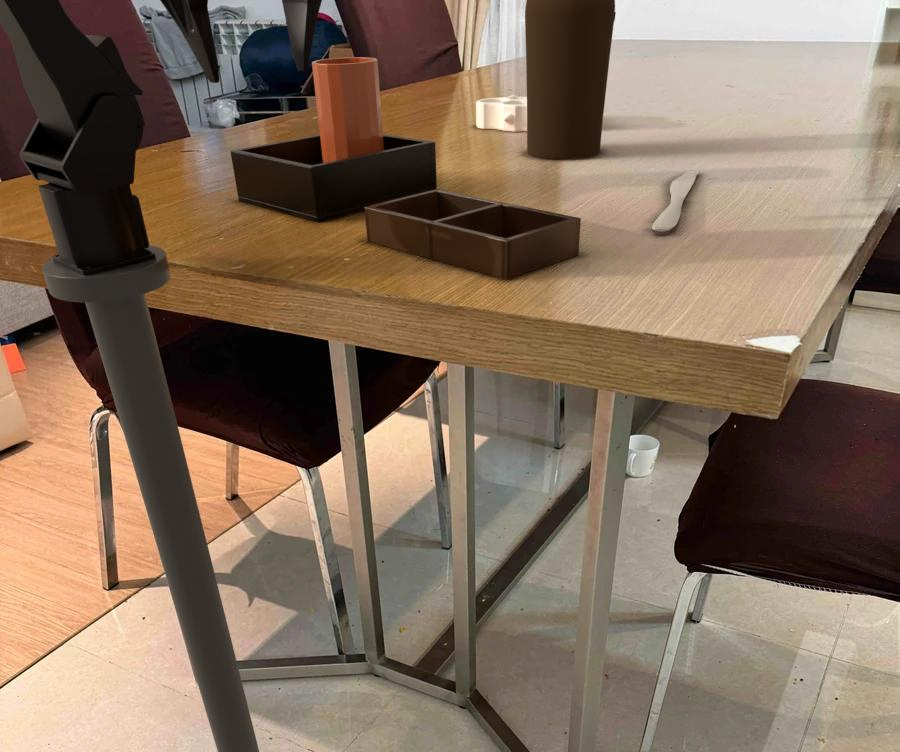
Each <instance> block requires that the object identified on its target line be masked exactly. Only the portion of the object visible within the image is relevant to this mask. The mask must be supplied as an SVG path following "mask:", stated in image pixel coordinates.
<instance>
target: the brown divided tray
mask: <svg viewBox="0 0 900 752" xmlns="http://www.w3.org/2000/svg"><path fill="white" fill-rule="evenodd" d="M364 209H365V210H364V218H365V219H364V220H365V230H366V242H369V243H373V244H375V245H379V246H383V247H387V248H390V249H394V250H397V251H401V252H405V253H409V254H412V255H416V256H418V257H423V258H426V259H430V260H433V261H438V262H441V263H445V264H449V265H452V266H455V267H459V268H463V269H466V270H469V271H474V272H476V273H477V272H478V273H480V274H484V275H488V276H492V277H495V278H499V279H502V280H510V279H513V278H515V277H519V276H521V275H524V274H527V273H530V272H532V271H535V270H538V269H542V268H544V267H547V266H550V265H553V264H555V263H559V262H562V261H564V260H567V259H570V258H573V257H576V256H579V254H580V240H581V239H580V238H581V225H582V224H581V223H582V222H581V221H582V219H581V217H578V216H572V215H567V214H562V213H557V212H552V211H547V210H543V209H538V208H534V207H528V206H524V205H518V204H512V203H508V202H503V201H498V200H493V199H489V198H485V197H484V198H483V197H478V196H474V195H468V194H463V193H459V192H454V191H448V190H444V189H439V188H437V189H436V190H432V191H428V192H424V193H420V194H415V195H411V196H407V197H403V198H399V199H395V200H391V201H387V202H383V203H379V204H375V205H371V206H367V207H364Z"/></svg>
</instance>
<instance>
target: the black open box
mask: <svg viewBox="0 0 900 752" xmlns="http://www.w3.org/2000/svg"><path fill="white" fill-rule="evenodd" d="M383 144H384V151H380V152H375V153H370V154H365V155H360V156H355V157H350V158H346V159H341V160H336V161H331V162H326V163H323V158H322V149H321V140H320V134H315V135H309V136H303V137H298V138H293V139H288V140H287V139H286V140H282V141H276V142H271V143H265V144H260V145H254V146H249V147H244V148H237V149H232V150H230V157H231V158H230V159H231V163H232V170H233V176H234V181H235V187H236V192H237V199H238V202H242V203H246V204H249V205H253V206H256V207H260V208H264V209H268V210H271V211H274V212H279V213H282V214H285V215H290V216H293V217H296V218H301V219H305V220H309V221H312V222H315V223H320V222H324V221H327V220H332V219H335V218H339V217H343V216H348V215H351V214H355V213H359V212H363V211H364V212H365V209H364V207H367V206H371V205H375V204H379V203H383V202H387V201H391V200H395V199H399V198H403V197H407V196H411V195H415V194H420V193H424V192H428V191H432V190H436V189H438V181H437V156H436V153H437V151H436V150H437V149H436V142H435V141H433V140H425V139H419V138H418V139H417V138H412V137H406V136H399V135H393V134H388V133H387V134H385V133H383Z"/></svg>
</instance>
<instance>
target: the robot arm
mask: <svg viewBox="0 0 900 752" xmlns="http://www.w3.org/2000/svg"><path fill="white" fill-rule="evenodd" d="M159 1H160V2H161V4H162V6H163V7H164V8H165V10H166V11H167V12H168V15H170V17H171V18H172V20H173V22H174V24H176V26H177V27H178V29H179V31H180V33H181V34H182V36H183V37H184V39H185V41H186V43H187V45H188V47H189V48H190V50H191V52H192V53H193V55H194V57H195V58H196V61H197V62H198V64H199V66H200V67H201V69H202V71H203V73H204V75H205V76H206V79H207V80H208V81H209V82H210V83H211V84H212V83H213V84H218V83H219V82H220V71H219V61H218V55H217V50H216V44H215V39H214V35H213V30H212V23H211V19H210V14H209V8H208V4H209V0H159ZM322 2H323V0H281V4H282V8H283V12H284V18H285V22H286V28H287V32H288V37H289V42H290V47H291V52H292V55H293V59H294V62H295V66H296V69H297V71H298V72H307V71H308V70H309V66H310V60H311V54H312V48H313V43H314V37H315V33H316V27H317V23H318V22H317V21H318V16H319V13H320V8H321V5H322ZM0 26H1V27H2V29H3V31H4V32H5V34H6V35H7V37H8V39H9V41H10V43H11V47H12V48H13V52H14V55H15V60H16V64H17V68H18V70H19V71H18V72H19V74H20V78H21V82H22V85H23V88H24V90H25V92H26V94H27V97H28V99H29V101H30V103H31V105H32V107H33V109H34V112H35V114H36V116H37V119H36V121H35V122H34V124H33V127H32V129H31V130H30V132H29V134H28V136H27V138H26V139H25V142H24V144H23V146H22V147H21V150H20V151H19V159H20V160H21V161H22V163H23V164H24V166H25V167H26V169H27V170H28V172H29V173H30V175H31V177H32V178H33V179H34V180H36V181H43V182H46V183H45V184H40V185H38V186H37V187H38V190H39V194H40V197H41V200H42V205H43V208H44V210H45V214H46V217H47V220H48V224H49V226H50V230H51V233H52V237H53V241H54V243H55V246H56V251H57V254H53V255H52V256H51V259H53V262H55V263H57V264H59V265H61V266H64V267H66V268H68V269H70V270H72V271H75V272H77V273H79V274H81V275H92V274H96V273H100V272H104V271H108V270H112V269H116V268H120V267H124V266H128V265H133V264H137V263H141V262H145V261H149V260H153V259H155V258H156V256H155V252H152V251H150V250H147V249H145V248H148V247H149V245H151V244H150V240H149V237H148V232H147V228H146V224H145V220H144V215H143V211H142V207H141V203H140V198H139V196H137V195H136V194H134V193H133V192H132V188H131V185H133V184H134V182H135V172H136V171H135V169H136V156H137V151H138V149H139V147H140V144H141V142H142V140H143V135H144V128H145V126H146V118H145V114H144V111H143V109H142V105H141V103H140V101H139V100H138V98H137V96H143V95H144V92H143V90H142V89H141V88H140V87H139V86H138V85H137V84H136V83H135V82H134V81H133V79H132V77H131V76H130V75H129V73H128V71H127V69H126V67H125V64H124V62H123V59H122V57H121V54H120V51H119V49H118V47H117V45H116V44H115V42H114V40H113V39H112V37H110V36H103V35H89V34H85V33H83V31H82V30H81V29H80V28H79V27H78V26H77V25H76V24H75V23H74V22H73V20H72V19H71V18H70V17H69V16H68V14H67V12H66V10H65V8H64V7H63V5H62V3H61V2H60V0H0Z"/></svg>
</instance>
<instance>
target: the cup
mask: <svg viewBox="0 0 900 752" xmlns="http://www.w3.org/2000/svg"><path fill="white" fill-rule="evenodd" d="M378 61H379V60H378V59H377V57H376V58H375V57H363V56H359V57H358V56H357V57H356V56H355V57H353V56H351V57H334V58H333V57H332V58H323V59H317V60H314V61H311V67H312V76H313V85H314V95H315V103H316V112H317V121H318V122H317V123H318V130H319V135H320V140H321V149H322V158H323V163H326V162H331V161H336V160H341V159H346V158H350V157H355V156H360V155H365V154H370V153H375V152H380V151H384V144H383V134H384V132H383V130H384V129H383V117H382V106H381V105H382V102H381V89H380V87H381V86H380V78H379V77H380V75H379V62H378Z"/></svg>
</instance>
